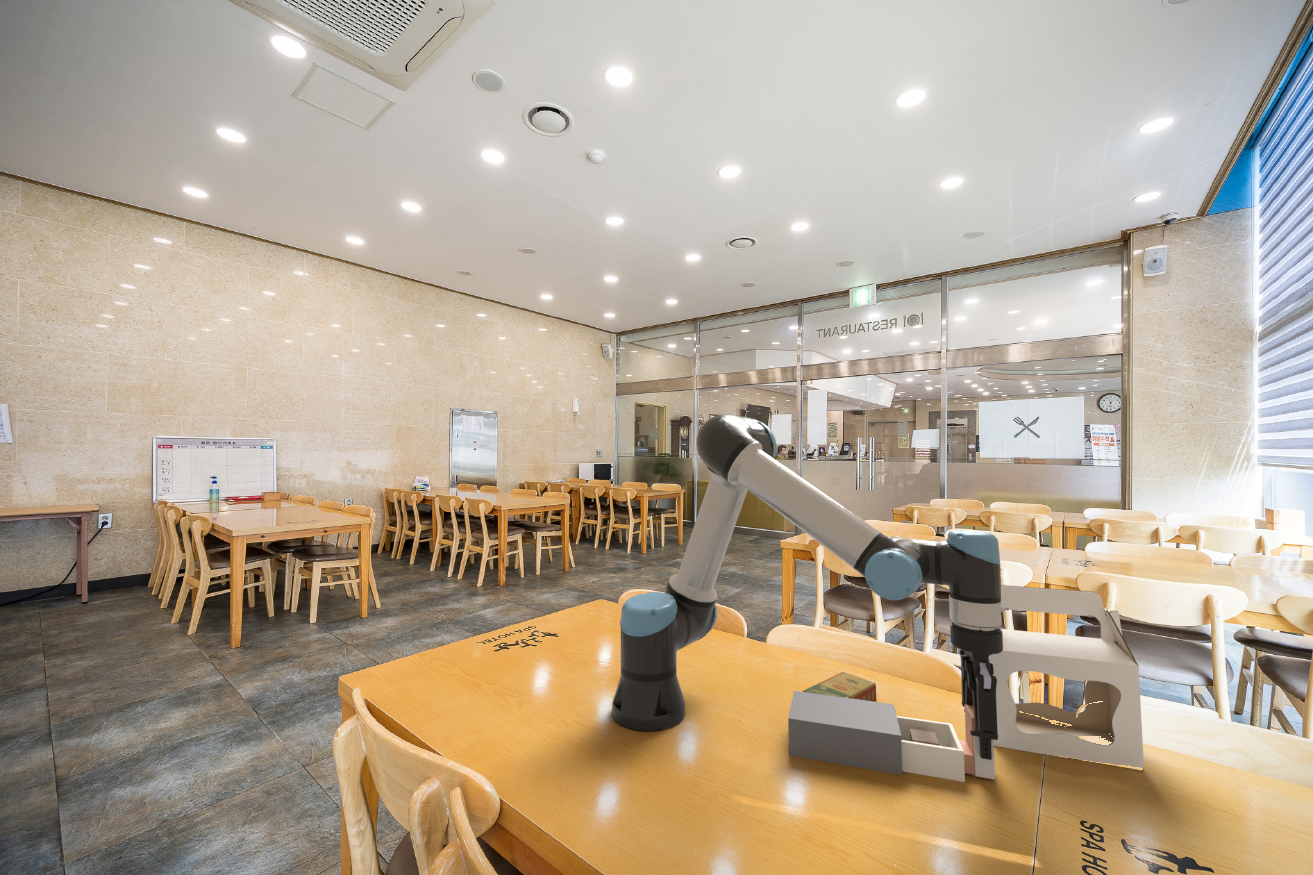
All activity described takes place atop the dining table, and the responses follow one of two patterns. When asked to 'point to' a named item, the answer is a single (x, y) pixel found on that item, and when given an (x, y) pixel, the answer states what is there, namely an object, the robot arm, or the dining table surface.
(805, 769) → the dining table surface
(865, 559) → the robot arm
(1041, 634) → the gable box
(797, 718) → the sleeve
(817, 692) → the carton
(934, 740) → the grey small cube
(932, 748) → the tray
